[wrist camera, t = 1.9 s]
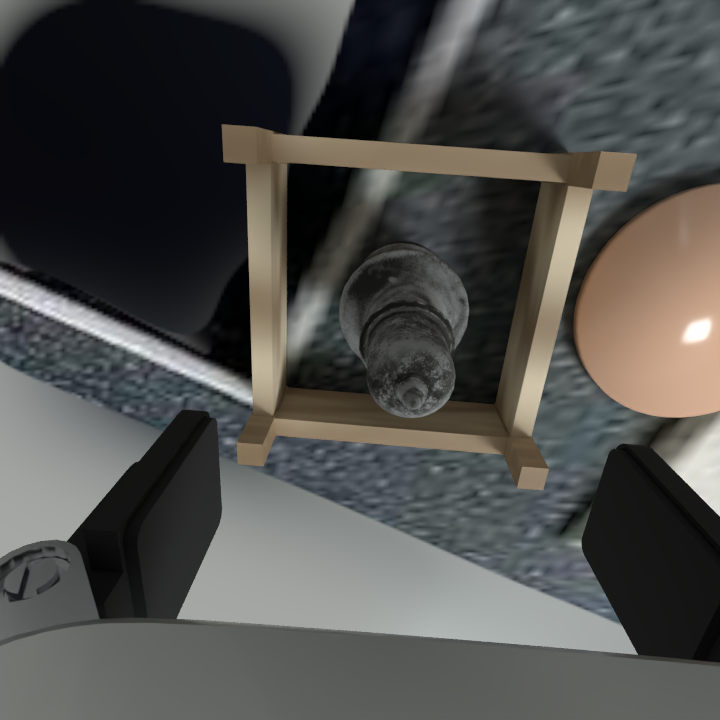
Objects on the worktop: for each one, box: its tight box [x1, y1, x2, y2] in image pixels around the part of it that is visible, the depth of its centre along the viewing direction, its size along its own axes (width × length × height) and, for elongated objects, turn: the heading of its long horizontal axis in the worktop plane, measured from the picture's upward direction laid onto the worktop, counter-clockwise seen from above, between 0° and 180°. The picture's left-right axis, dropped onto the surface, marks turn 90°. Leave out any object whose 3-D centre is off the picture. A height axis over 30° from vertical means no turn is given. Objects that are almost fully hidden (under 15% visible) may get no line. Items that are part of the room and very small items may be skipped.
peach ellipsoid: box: [573, 183, 720, 417], centre depth 23 cm, size 12×12×1 cm
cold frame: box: [222, 125, 637, 490], centre depth 21 cm, size 14×14×6 cm
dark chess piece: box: [339, 243, 469, 418], centre depth 19 cm, size 6×6×12 cm
